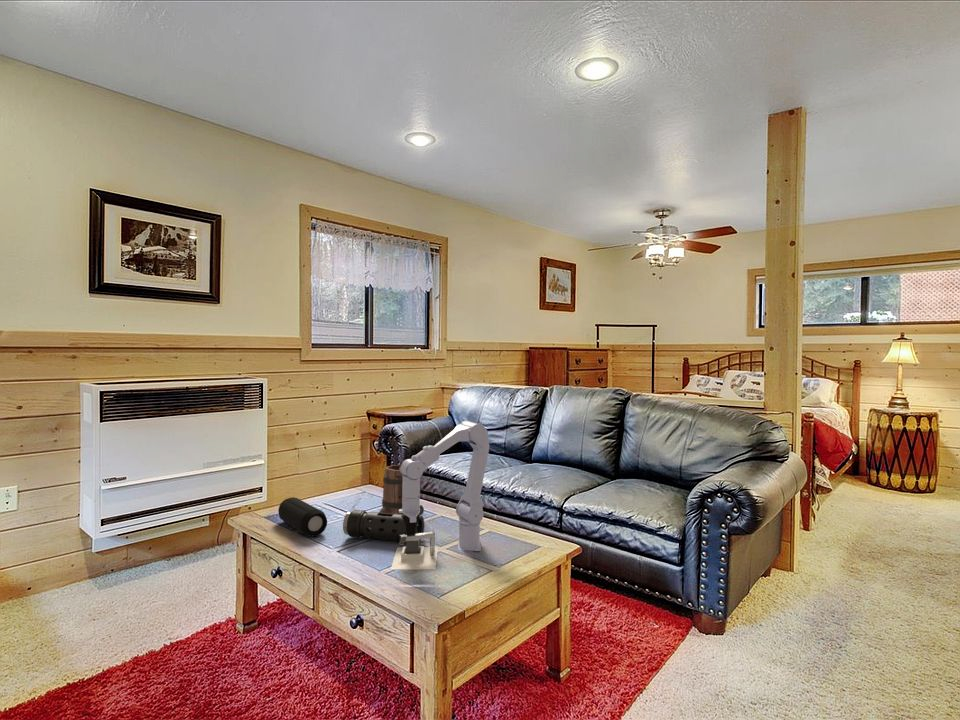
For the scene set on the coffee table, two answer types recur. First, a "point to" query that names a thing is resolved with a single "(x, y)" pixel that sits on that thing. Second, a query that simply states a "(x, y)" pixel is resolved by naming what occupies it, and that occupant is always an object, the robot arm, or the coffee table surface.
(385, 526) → the muzzle brake
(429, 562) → the socket base
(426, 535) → the clip
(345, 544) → the coffee table surface
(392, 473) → the tankard
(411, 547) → the plug
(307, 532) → the portable speaker
